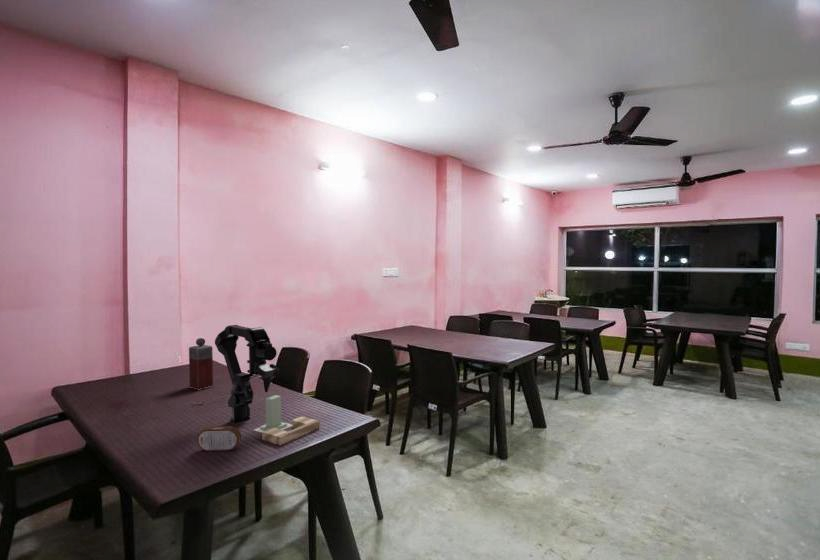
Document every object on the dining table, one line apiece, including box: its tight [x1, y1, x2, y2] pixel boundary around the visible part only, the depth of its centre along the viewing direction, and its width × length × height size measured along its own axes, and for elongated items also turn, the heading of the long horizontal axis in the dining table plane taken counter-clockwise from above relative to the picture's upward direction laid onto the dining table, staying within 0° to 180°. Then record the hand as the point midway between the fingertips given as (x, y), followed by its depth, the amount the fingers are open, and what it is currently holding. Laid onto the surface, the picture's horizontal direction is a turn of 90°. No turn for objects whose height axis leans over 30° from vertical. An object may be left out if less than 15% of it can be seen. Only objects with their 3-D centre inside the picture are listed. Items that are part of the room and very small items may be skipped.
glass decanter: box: [188, 337, 214, 389], centre depth 234 cm, size 9×11×28 cm
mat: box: [253, 421, 293, 434], centre depth 170 cm, size 10×12×1 cm
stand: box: [261, 416, 321, 446], centre depth 164 cm, size 10×20×3 cm, turn 147°
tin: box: [196, 425, 242, 452], centre depth 150 cm, size 15×3×8 cm, turn 92°
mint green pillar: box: [259, 394, 287, 430], centre depth 170 cm, size 7×8×12 cm
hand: (257, 394), depth 173 cm, fingers open, 9 cm apart
